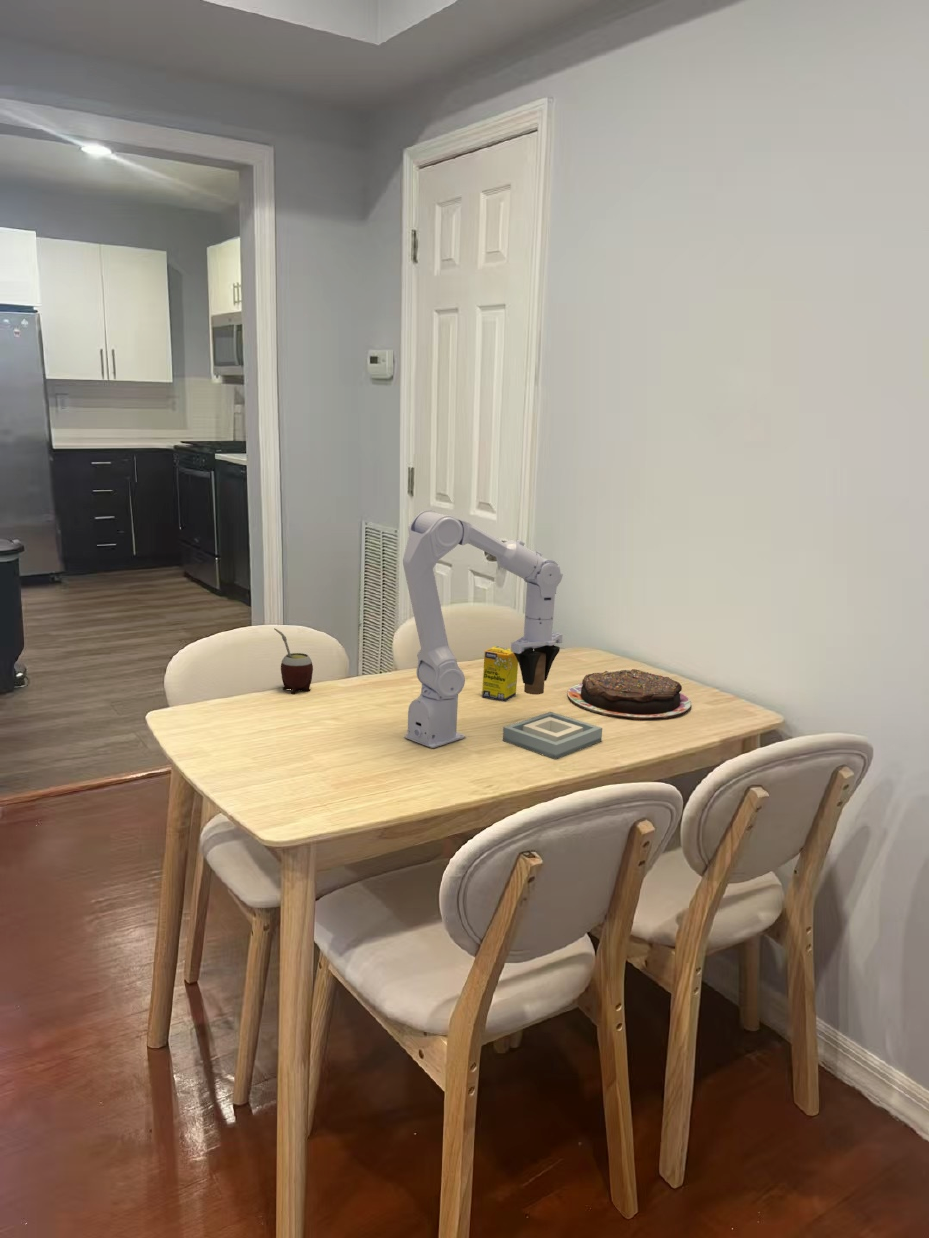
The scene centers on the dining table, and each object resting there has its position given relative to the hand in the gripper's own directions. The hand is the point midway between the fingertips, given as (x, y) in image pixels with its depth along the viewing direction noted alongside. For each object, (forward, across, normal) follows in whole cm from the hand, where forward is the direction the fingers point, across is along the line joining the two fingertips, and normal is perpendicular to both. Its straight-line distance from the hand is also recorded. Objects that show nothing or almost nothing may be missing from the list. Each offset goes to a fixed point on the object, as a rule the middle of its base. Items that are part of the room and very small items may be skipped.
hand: (534, 681), depth 186 cm
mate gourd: (+10, -23, +50) cm, 55 cm away
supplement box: (+10, +10, +17) cm, 22 cm away
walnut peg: (+2, 0, 0) cm, 2 cm away
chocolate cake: (+10, +31, -4) cm, 33 cm away
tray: (+9, -4, -8) cm, 13 cm away
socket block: (+9, -4, -8) cm, 13 cm away
